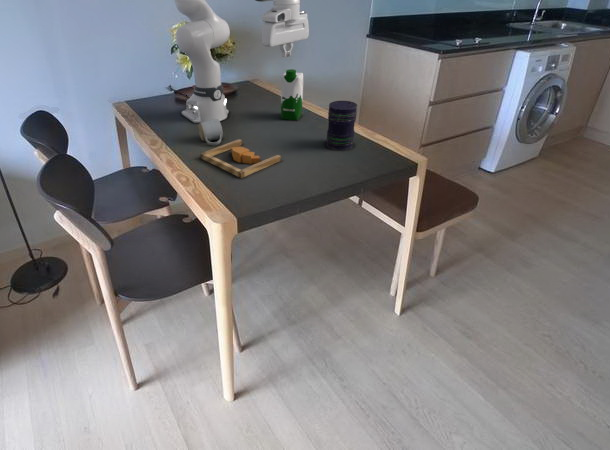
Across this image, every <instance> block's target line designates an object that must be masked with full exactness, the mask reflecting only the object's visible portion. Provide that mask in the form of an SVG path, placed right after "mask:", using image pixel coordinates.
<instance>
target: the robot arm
mask: <svg viewBox="0 0 610 450" xmlns="http://www.w3.org/2000/svg"><path fill="white" fill-rule="evenodd" d="M255 1H256V2H260V3H264V2H272V3H273V7H271V8H270V9H269V10H267V11H266V12H264V13H263V14H262V15H261V17H262V18H261V20H262V21H263V24H262V26H261V44H262V45H263V46H264V47H266V48H273V47H277V46H278V48H279V49H280V52H281V57H282V58H288V57H291V56H292V50H293V48H294V43H296V42H300V41H305V40H307V39H308V38H309V36H310V25H309V24H310V23H309V19H308V13H307V12H306V11H305V10H301V7H300V6H301V1H300V0H255ZM173 2H174V4H175V6H176V9H177V10H178V12H179V13H180V14H181V15H184V16H186V17H187V18H188V19H189V20H190V21H189V22H186V23H184V24H183V25H181V26H179V27H178V28H177V29H176V31H175V42H176V45H177V47H178V48H179V50H180V51H181V52H182V53H184V54H185V55H186V56H187V58H188V59H189V61H190V64H191V66H192V73H193V79H194V85H193V86H192V89H193V93H192V95H190V98H189V97H188V98H187V99H186V102H185V108H186V109H183V110H182V111H181V115H182V116H183V117H185V118H186V119H187V120H189V121H191V122H192V123H195V124H200V123H202V122H205V121H210V120H214V119H219V121H220V122H221V121H224V120H226V119H227V118H228V114H229V111H230V110H229V109H227V101H228V100H227V99H226V98H225V97H226V96H225V94H224V87H223V83H222V75H221V74H222V73H221V65H220V63H219V62H218V61H217V60H215V59H213V56H212V53H211V49H215V48H218V47H220V46H223V45H224V44H225V43H227V42H228V40H229V38H230V35H231V31H230V26H229V24H228V22H227V21H226V20H225V19H224V18H222V17H220V16H219V15H218V14H217V13H215V11H214V10H213V9H212V7H211V6H210V5H209V3H208V2H207V0H173ZM168 86H169V87H168V88H169V89H170V90H171V91H173V92H176V93H178V92H177V91H178V90H177V89H174V88H172V85H171V84H169V85H168Z"/></svg>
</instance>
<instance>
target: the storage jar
mask: <svg viewBox="0 0 610 450" xmlns="http://www.w3.org/2000/svg"><path fill="white" fill-rule="evenodd" d="M357 110H358V104H357V103H356V102H354V101H351V100H335V101H331V102H330V103H329V104H328V113H327V115H328V117H327V120H328V126H327V130H326V147H327V148H329V149H332V150H335V151H346V150H351V149H352V148H353V147H354V140H355V124H356V123H355V122H356V120H357V114H358V113H357Z"/></svg>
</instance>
